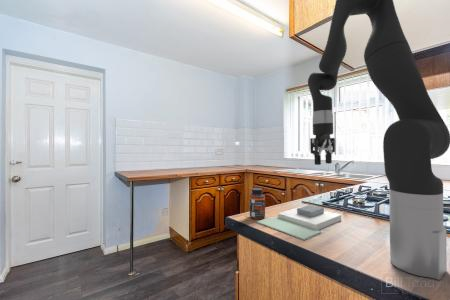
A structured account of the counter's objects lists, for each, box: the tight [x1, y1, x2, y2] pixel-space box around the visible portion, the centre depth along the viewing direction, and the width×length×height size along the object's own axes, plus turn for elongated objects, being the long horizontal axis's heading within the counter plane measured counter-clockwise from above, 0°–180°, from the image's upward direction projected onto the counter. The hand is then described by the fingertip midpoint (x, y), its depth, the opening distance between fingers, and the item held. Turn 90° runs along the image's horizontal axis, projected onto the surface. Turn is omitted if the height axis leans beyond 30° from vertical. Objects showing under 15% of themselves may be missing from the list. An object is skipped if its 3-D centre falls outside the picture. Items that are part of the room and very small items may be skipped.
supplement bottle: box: [249, 187, 266, 220], centre depth 88 cm, size 6×6×11 cm
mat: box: [256, 216, 322, 241], centre depth 77 cm, size 20×9×1 cm, turn 36°
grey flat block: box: [296, 204, 325, 218], centre depth 85 cm, size 6×8×2 cm
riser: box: [277, 205, 342, 231], centre depth 84 cm, size 16×16×2 cm
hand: (323, 164), depth 90 cm, fingers open, 7 cm apart
